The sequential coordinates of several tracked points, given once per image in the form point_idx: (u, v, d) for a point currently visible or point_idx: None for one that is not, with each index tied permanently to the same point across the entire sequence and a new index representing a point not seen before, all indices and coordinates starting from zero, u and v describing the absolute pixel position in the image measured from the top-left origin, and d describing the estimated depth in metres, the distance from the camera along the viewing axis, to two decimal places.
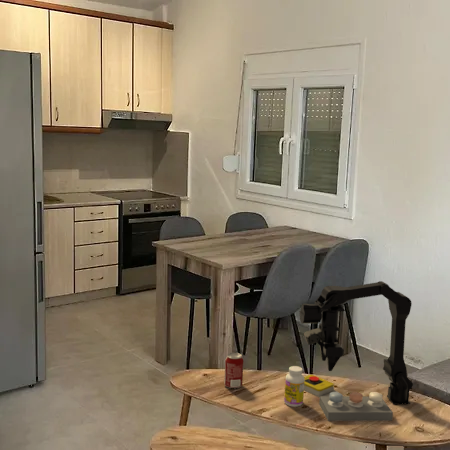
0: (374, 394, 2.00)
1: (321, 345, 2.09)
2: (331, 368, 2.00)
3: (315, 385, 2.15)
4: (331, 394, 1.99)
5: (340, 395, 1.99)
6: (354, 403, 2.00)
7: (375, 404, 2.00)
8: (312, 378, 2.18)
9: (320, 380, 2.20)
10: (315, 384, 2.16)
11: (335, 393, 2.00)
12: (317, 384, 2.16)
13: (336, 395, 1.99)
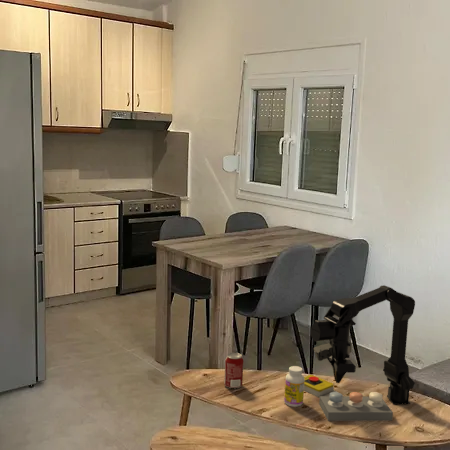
0: (374, 394, 2.00)
1: None
2: (339, 380, 1.97)
3: (315, 385, 2.15)
4: (331, 394, 1.99)
5: (340, 395, 1.99)
6: (354, 403, 2.00)
7: (375, 404, 2.00)
8: (312, 378, 2.18)
9: (320, 380, 2.19)
10: (315, 384, 2.16)
11: (335, 393, 2.00)
12: (317, 384, 2.16)
13: (336, 395, 1.99)
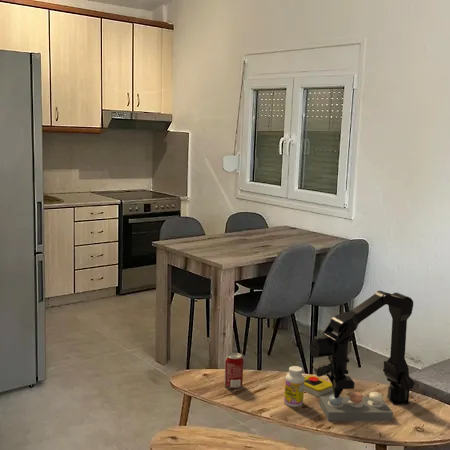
0: (374, 394, 2.00)
1: None
2: (337, 395, 1.98)
3: (315, 385, 2.15)
4: (331, 397, 1.99)
5: (340, 398, 1.99)
6: (354, 403, 2.00)
7: (375, 404, 2.00)
8: (312, 378, 2.18)
9: (320, 380, 2.19)
10: (315, 384, 2.15)
11: None
12: (317, 384, 2.15)
13: None
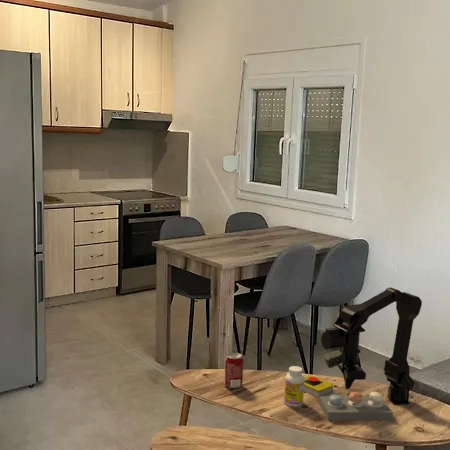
0: (374, 394, 2.00)
1: None
2: (349, 386, 1.98)
3: (315, 385, 2.15)
4: (331, 397, 1.99)
5: (340, 398, 1.99)
6: (354, 403, 2.00)
7: (375, 404, 2.00)
8: (311, 379, 2.17)
9: (319, 381, 2.19)
10: (314, 385, 2.15)
11: (335, 396, 2.00)
12: (316, 385, 2.15)
13: (336, 397, 1.99)
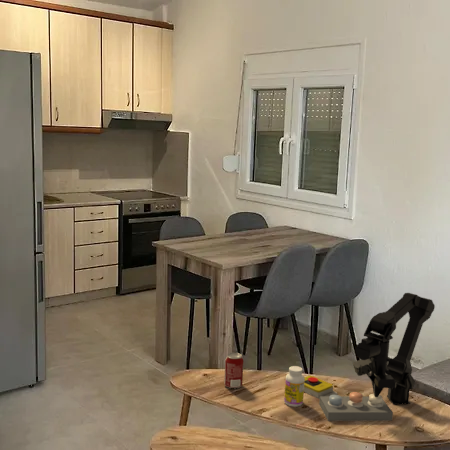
0: (374, 396, 2.00)
1: None
2: (377, 394, 2.00)
3: (314, 386, 2.14)
4: (331, 397, 1.99)
5: (340, 398, 1.99)
6: (354, 403, 2.00)
7: (375, 404, 2.00)
8: (311, 379, 2.17)
9: (319, 381, 2.19)
10: (314, 385, 2.15)
11: (335, 396, 2.00)
12: (316, 385, 2.15)
13: (336, 397, 1.99)
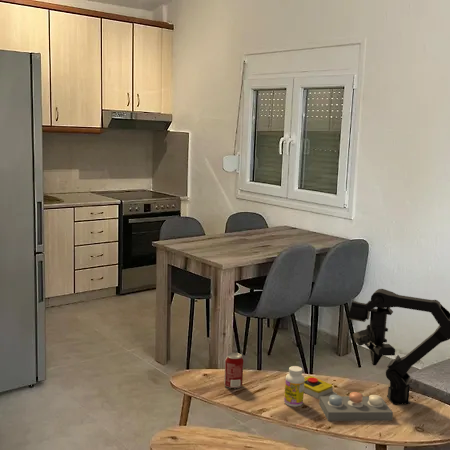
0: (374, 397, 2.00)
1: None
2: (376, 362, 2.13)
3: (314, 386, 2.14)
4: (331, 397, 1.99)
5: (340, 398, 1.99)
6: (354, 403, 2.00)
7: None
8: (311, 379, 2.17)
9: (319, 381, 2.18)
10: (314, 385, 2.14)
11: (335, 396, 2.00)
12: (316, 385, 2.15)
13: (336, 397, 1.99)
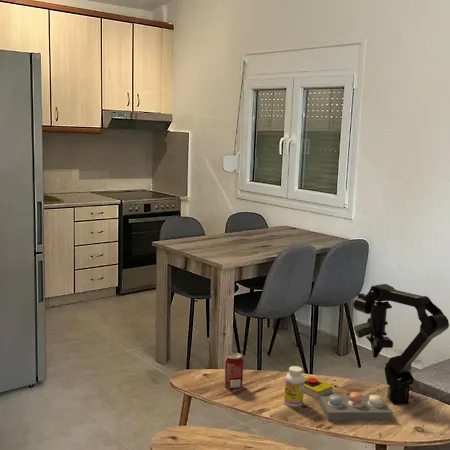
0: (374, 397, 2.00)
1: None
2: (376, 355, 2.19)
3: (314, 386, 2.14)
4: (331, 397, 1.99)
5: (340, 398, 1.99)
6: (354, 403, 2.00)
7: None
8: (310, 380, 2.17)
9: (319, 382, 2.18)
10: (313, 386, 2.14)
11: (335, 396, 2.00)
12: (316, 386, 2.14)
13: (336, 397, 1.99)
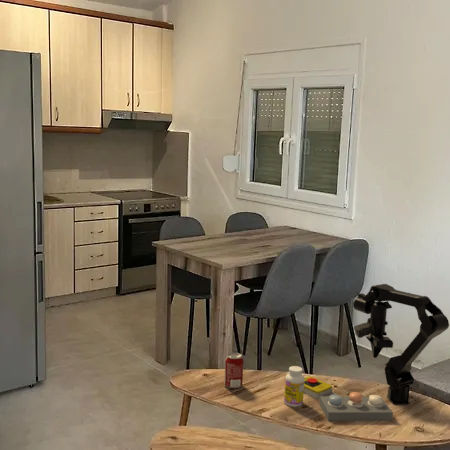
0: (374, 397, 2.00)
1: None
2: (376, 355, 2.19)
3: (313, 386, 2.14)
4: (331, 397, 1.99)
5: (340, 398, 1.99)
6: (354, 403, 2.00)
7: None
8: (310, 380, 2.16)
9: (318, 382, 2.18)
10: (313, 386, 2.14)
11: (335, 396, 2.00)
12: (315, 386, 2.14)
13: (336, 397, 1.99)
